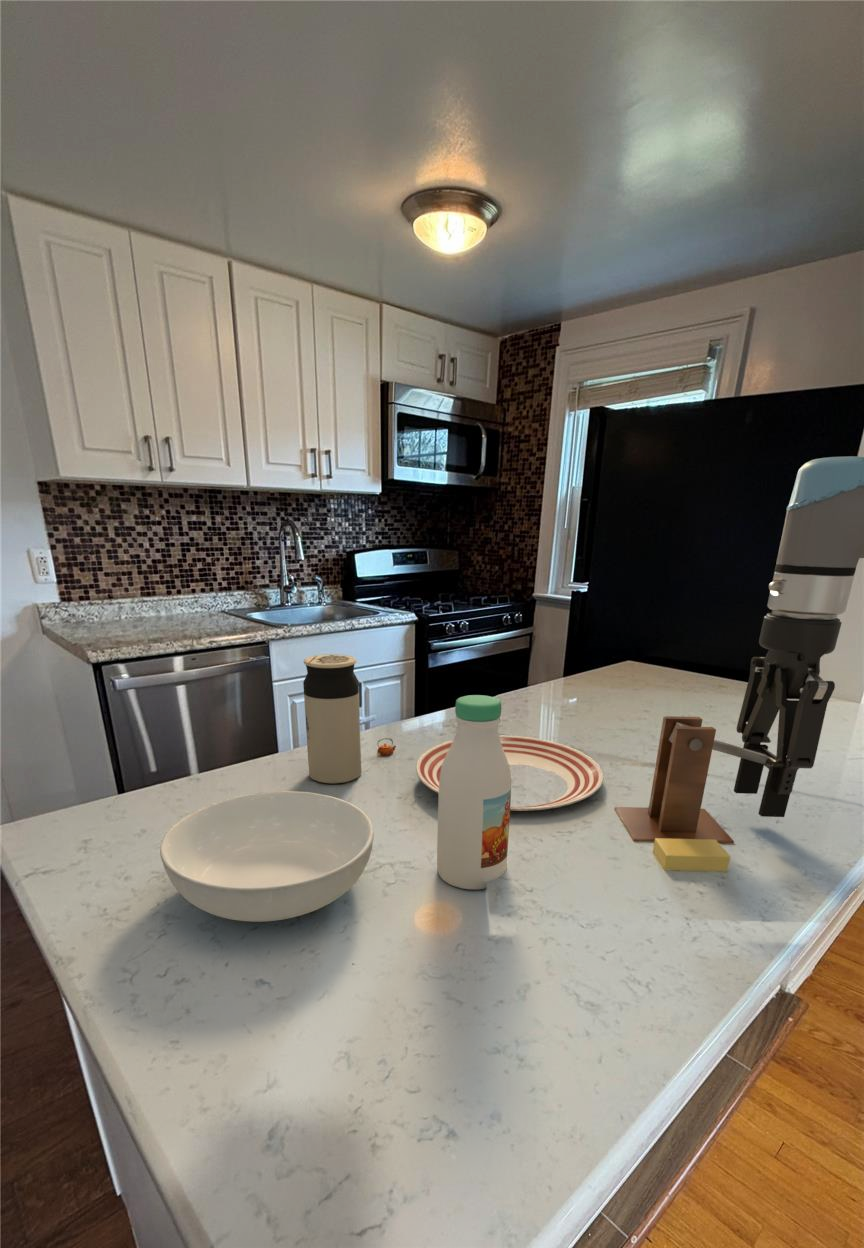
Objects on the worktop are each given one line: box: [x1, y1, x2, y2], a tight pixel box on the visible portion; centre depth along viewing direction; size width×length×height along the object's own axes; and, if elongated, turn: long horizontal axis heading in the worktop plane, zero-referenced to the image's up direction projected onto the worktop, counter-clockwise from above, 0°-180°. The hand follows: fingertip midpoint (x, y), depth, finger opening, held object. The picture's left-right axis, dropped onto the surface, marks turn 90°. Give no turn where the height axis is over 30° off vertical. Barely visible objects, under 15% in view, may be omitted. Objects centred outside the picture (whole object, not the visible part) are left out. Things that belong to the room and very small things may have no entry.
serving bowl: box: [159, 790, 375, 923], centre depth 63 cm, size 21×21×7 cm
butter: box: [652, 838, 731, 872], centre depth 69 cm, size 7×4×3 cm, turn 89°
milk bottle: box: [436, 694, 512, 890], centre depth 64 cm, size 8×8×20 cm
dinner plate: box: [415, 734, 604, 812], centre depth 91 cm, size 27×27×3 cm
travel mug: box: [302, 653, 362, 785], centre depth 91 cm, size 8×8×18 cm
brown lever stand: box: [613, 715, 735, 844], centre depth 75 cm, size 12×9×15 cm
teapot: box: [376, 737, 397, 757], centre depth 103 cm, size 3×3×3 cm
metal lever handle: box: [669, 722, 776, 770], centre depth 73 cm, size 13×6×2 cm, turn 89°
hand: (757, 803), depth 76 cm, fingers closed on metal lever handle, 6 cm apart
